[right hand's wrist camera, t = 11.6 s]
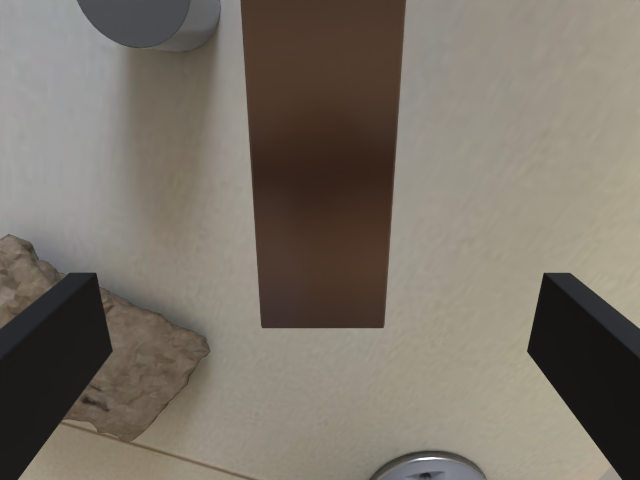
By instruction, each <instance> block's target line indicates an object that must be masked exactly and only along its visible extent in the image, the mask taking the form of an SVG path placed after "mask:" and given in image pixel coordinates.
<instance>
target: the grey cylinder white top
mask: <svg viewBox="0 0 640 480" xmlns="http://www.w3.org/2000/svg"><path fill="white" fill-rule="evenodd" d="M77 1H78V4H79V6H80V7H81V9H82V11H83V13H84V14H85V16H86V17H87V18H88V20H89V21H90V22H91V23H92V24H93V26H94V27H95V28H96V29H97V30H99V31H100V32H101V33H102V34H103V35H105V36H106V37H108V38H109V39H111V40H113V41H114V42H117V43H119V44H121V45H125V46H128V47H134V48H143V49H154V50H165V51H176V52H183V51H189V50H192V49H195V48H197V47H199V46H201V45H202V44H204V43H205V42H206V41H207V40H208V39H209V38H210V36H211V35H212V34H213V32H214V30H215V28H216V26H217V23H218V20H219V15H220V0H77Z"/></svg>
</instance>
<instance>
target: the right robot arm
mask: <svg viewBox="0 0 640 480" xmlns="http://www.w3.org/2000/svg"><path fill="white" fill-rule="evenodd" d="M112 352H113V349H112V345H111V340H110V335H109V331H108V326H107V321H106V317H105V312H104V307H103V303H102V298H101V293H100V288H99V284H98V279H97V274H96V273H69V274H68V275H67V276H66V277H64V278H63V279H62V280H61V281H59V282H58V283H57V284H56V285H54V286H53V287H52V288H51V289H49V290H48V291H47V292H46V293H44V294H43V295H42V296H41V297H39V298H38V299H37V300H36V301H34V302H33V303H32V304H31V305H29V306H28V307H27V308H26V309H24V310H23V311H22V312H21V313H19V314H18V315H17V316H16V317H14V318H13V319H12V320H11V321H9V322H8V323H7V324H6V325H4V326H3V327H2V328H1V329H0V480H18V479H19V477H20V476H21V475H22V473H23V472H24V471H25V469H26V468H27V466H28V465H29V464H30V462H31V461H32V460H33V458H34V457H35V456H36V454H37V453H38V452H39V450H40V449H41V448H42V446H43V445H44V444H45V442H46V441H47V440H48V438H49V437H50V435H51V434H52V433H53V431H54V430H55V429H56V427H57V426H58V425H59V423H60V422H61V421H62V419H63V418H64V417H65V415H66V414H67V413H68V411H69V410H70V409H71V407H72V406H73V404H74V403H75V402H76V400H77V399H78V398H79V396H80V395H81V394H82V392H83V391H84V390H85V388H86V387H87V386H88V384H89V383H90V382H91V380H92V379H93V378H94V376H95V375H96V373H97V372H98V371H99V369H100V368H101V367H102V365H103V364H104V363H105V361H106V360H107V359H108V357H109V356H110V355H111V353H112ZM527 352H528V353H529V355H530V356H531V357H532V359H533V360H534V361H535V363H536V364H537V365H538V367H539V368H540V369H541V371H542V372H543V373H544V375H545V376H546V378H547V379H548V380H549V382H550V383H551V384H552V386H553V387H554V388H555V390H556V391H557V392H558V394H559V395H560V396H561V398H562V399H563V400H564V402H565V403H566V404H567V406H568V407H569V409H570V410H571V411H572V413H573V414H574V415H575V417H576V418H577V419H578V421H579V422H580V423H581V425H582V426H583V427H584V429H585V430H586V431H587V433H588V434H589V435H590V437H591V438H592V440H593V441H594V442H595V444H596V445H597V446H598V448H599V449H600V450H601V452H602V453H603V454H604V456H605V457H606V458H607V460H608V461H609V462H610V464H611V465H612V466H613V468H614V469H615V471H616V472H617V473H618V475H619V476H620V477H621V479H622V480H640V329H639V328H638V327H637V326H636V325H634V324H633V323H632V322H631V321H629V320H628V319H627V318H626V317H624V316H623V315H622V314H621V313H619V312H618V311H617V310H616V309H614V308H613V307H612V306H611V305H609V304H608V303H607V302H606V301H604V300H603V299H602V298H601V297H599V296H598V295H597V294H596V293H594V292H593V291H592V290H591V289H589V288H588V287H587V286H586V285H584V284H583V283H582V282H581V281H579V280H578V279H577V278H576V277H574V276H573V275H572V274H571V273H544V274H543V279H542V284H541V288H540V293H539V298H538V303H537V307H536V312H535V317H534V321H533V326H532V331H531V335H530V340H529V345H528V349H527ZM370 480H487V479H486V477H485V475H484V474H483V472H482V471H481V470H480V468H478V467H477V466H476V465H475V464H474V463H473V462H471V461H469V460H468V459H466V458H464V457H461V456H459V455H456V454H452V453H447V452H440V451H424V452H417V453H412V454H408V455H405V456H402V457H399V458H397V459H394V460H392V461H390V462H389V463H387V464H386V465H384V466H383V467H381V468H380V469H379V470H378V471H377V472H376V473H375V474H374V475H373V476H372V478H371V479H370Z"/></svg>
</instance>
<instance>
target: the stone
mask: <svg viewBox="0 0 640 480" xmlns="http://www.w3.org/2000/svg"><path fill="white" fill-rule="evenodd" d="M66 276H67V275H65V274H62V273H58V271H57V270H56V268H54V267H53V266H52V265H51V264H50V263H49V262H45V261H41V260H39V259H38V257H37V255H36V253H35V250H34V248H33V246H32V244H31V243H30V242H28V241H25V240H22V239H19V238H17V237H15V236H12V235H10V234H8V235H7V236H5V237H3V238H2V239H0V329H1V328H2V327H3V326H4V325H6V324H7V323H8V322H9V321H11V320H12V319H13V318H14V317H16V316H17V315H18V314H19V313H21V312H22V311H23V310H24V309H26V308H27V307H28V306H29V305H31V304H32V303H33V302H34V301H36V300H37V299H38V298H39V297H41V296H42V295H43V294H44V293H46V292H47V291H48V290H49V289H51V288H52V287H53V286H54V285H56V284H57V283H58V282H59V281H61V280H62V279H63V278H64V277H66ZM99 288H100V287H99ZM100 293H101V298H102V303H103V307H104V312H105V317H106V321H107V326H108V331H109V335H110V340H111V345H112V349H113V352H112V353H111V355H110V356H109V357H108V359H107V360H106V361H105V363H104V364H103V365H102V367H101V368H100V369H99V371H98V372H97V373H96V375H95V376H94V378H93V379H92V380H91V382H90V383H89V384H88V386H87V387H86V388H85V390H84V391H83V392H82V394H81V395H80V396H79V398H78V399H77V400H76V402H75V403H74V404H73V406H72V407H71V409H70V410H69V411H68V413H67V414H66V415H65V417H64V418H63V419H62V420H65V419H72V420H77V421H87V422H91V423H92V424H93V425H94V426H95V427H96V428H97V431H98V432H99V433H110V434H113V435H115V436H118V437H119V439H121V440H123V441H126V442H129V441H132V440H134V439H135V438H136V437H137V436H139V435H140V434H142V433H143V432H144V431H145V430H146V429H147V428H148V427H149V426H150V425H151V424H152V423H153V422H154V421H155V419H156V418H157V416H158V414H159V413H160V412H161V411H162V410H163V409H164V408H165V407H166V406H167V405H168V403H169V401H170V400H172V399H173V398H174V397H175V396H176V395H177V394H178V393H179V392H180V391H181V390H182V389H183V388H184V387H185V386H186V385H187V384H188V380H189V376H190V375H191V374H192V372H193V371H194V370H195V367H196V366H197V364H198V363H199V361H200V360H201V358H202V357H205V356H207V355H208V353H209V352H210V348H209V345H208V343H207V341H206V338H205V337H202V336H200V335H198V334H196V333H195V332H193V331H190V330H187V329H184V328H181V327H177V326H175V325H173V324H172V323H171V322H169V321H167V320H166V319H165V318H164V317H163V316H162V314H158V313H155V312H150V311H149V310H147V309H140V308H138V307H136V306H133V305H132V304H130V303H129V302H128V301H127V300H126V299H123V298H120V297H118V296H116V295H114V294H112V293H111V292H110V291H108V290H106V289H103V288H100Z"/></svg>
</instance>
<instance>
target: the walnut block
mask: <svg viewBox="0 0 640 480" xmlns="http://www.w3.org/2000/svg"><path fill="white" fill-rule="evenodd" d="M405 7H406V0H241V15H242V30H243V46H244V62H245V78H246V93H247V109H248V125H249V141H250V157H251V172H252V188H253V204H254V220H255V235H256V251H257V267H258V283H259V299H260V314H261V326H262V328H384V324H385V309H386V294H387V279H388V264H389V249H390V234H391V218H392V203H393V188H394V173H395V158H396V143H397V128H398V113H399V98H400V83H401V67H402V52H403V37H404V22H405Z"/></svg>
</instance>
